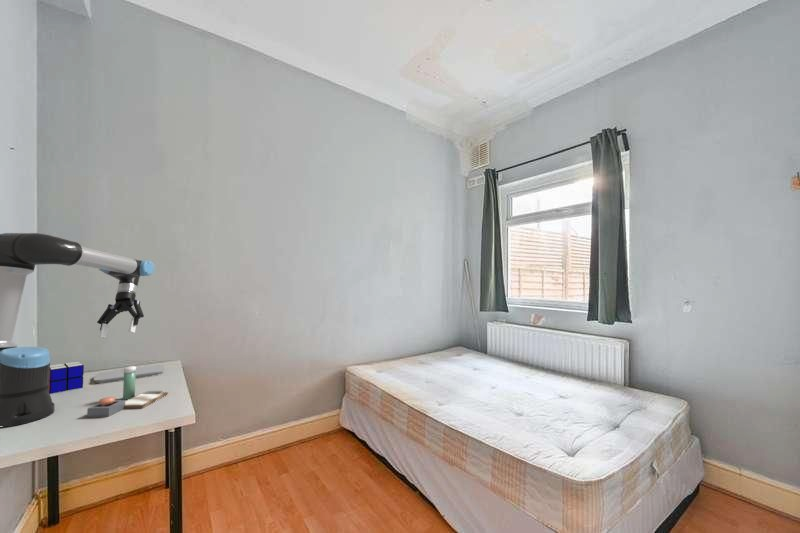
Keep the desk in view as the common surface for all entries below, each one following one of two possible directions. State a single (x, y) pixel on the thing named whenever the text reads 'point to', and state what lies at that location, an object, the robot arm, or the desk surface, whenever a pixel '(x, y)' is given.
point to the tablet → (119, 374)
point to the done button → (107, 401)
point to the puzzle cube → (65, 377)
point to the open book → (144, 399)
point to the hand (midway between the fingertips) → (117, 334)
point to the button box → (105, 409)
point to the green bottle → (129, 382)
